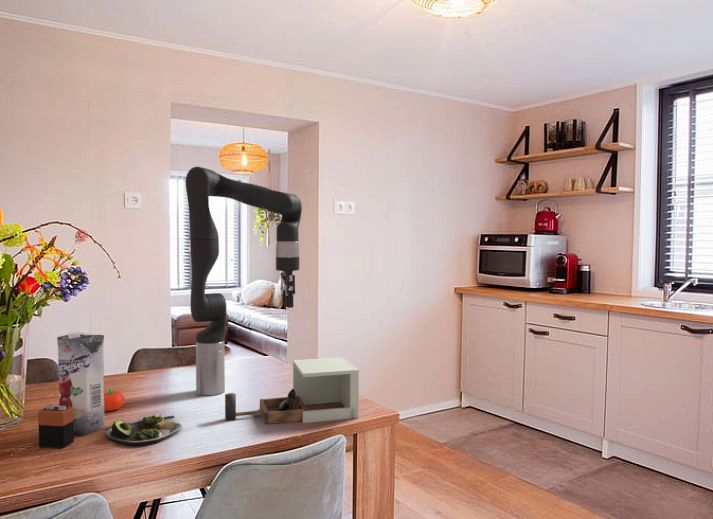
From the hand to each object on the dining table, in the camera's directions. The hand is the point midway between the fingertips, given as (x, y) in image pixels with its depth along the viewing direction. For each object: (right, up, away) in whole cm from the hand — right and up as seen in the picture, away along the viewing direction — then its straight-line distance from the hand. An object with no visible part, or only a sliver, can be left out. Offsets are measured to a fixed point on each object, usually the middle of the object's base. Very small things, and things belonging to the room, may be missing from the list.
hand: (287, 305), depth 175 cm
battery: (-53, -32, -39) cm, 73 cm away
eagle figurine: (+2, -31, -14) cm, 34 cm away
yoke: (-5, -31, -17) cm, 35 cm away
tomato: (-52, -31, -10) cm, 61 cm away
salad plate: (-34, -32, -31) cm, 56 cm away
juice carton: (-52, -31, -28) cm, 67 cm away
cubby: (+12, -31, -12) cm, 35 cm away
